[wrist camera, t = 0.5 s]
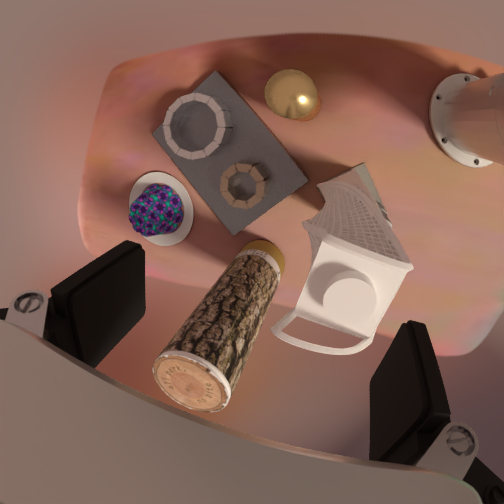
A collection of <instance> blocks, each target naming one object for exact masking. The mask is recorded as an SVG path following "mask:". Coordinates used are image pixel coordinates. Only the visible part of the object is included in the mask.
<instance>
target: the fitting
mask: <svg viewBox="0 0 504 504" xmlns="http://www.w3.org/2000/svg"><path fill="white" fill-rule="evenodd" d="M264 95H265V100H266V103H267V105H268V106H269V108H270V109H271V110H272V111H273V112H274V113H276V114H277V115H279V116H281V117H285V118H289V119H293V120H297V121H308V120H311V119H313V118H314V117H315V116H316V115H317V114H318V113H319V111H320V109H321V104H322V102H321V97H320V95H319V93H318V91H317V88H316V86H315V84H314V82H313V81H312V79H311V78H310V77H309V76H308V75H306V74H305V73H303V72H301V71H299V70H295V69H285V70H282V71H279V72H277V73H275V74H274V75H273V76H272V77H271V78H270V79H269V80H268V82H267V84H266V86H265V92H264Z"/></svg>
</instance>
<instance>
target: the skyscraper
mask: <svg viewBox="0 0 504 504" xmlns="http://www.w3.org/2000/svg"><path fill="white" fill-rule="evenodd" d="M317 187H318V189H319V191H320V193H321V195H322V197H323V199H324V201H325V205H324V207H323V208H322V209H321V211H320V212H319V213H318V214H317V215H315V216H314V217H313V218H312V219H308V220H306V221H304V222H302V224H303V227H304V229H306V230H307V231H308V234H309V237H310V242H311V249H312V260H311V267H310V272H309V275H308V278H307V281H306V283H305V286H304V288H303V291H302V293H301V295H300V298H299V300H298V303H297V305H296V306H295V308H293V309H292V310H291V311H290V312H288V313H287V314H286V315H285V316H284V317H283V318H282V319H281V320H279V321H278V322H277V323H276V324H275V325H274V326H273V327H271V328H270V330H271V331H272V333H273V334H274V335H275V336H276V337H278V338H279V339H282V340H283V341H285V342H287V343H290V344H292V345H295V346H298V347H301V348H304V349H308V350H311V351H315V352H320V353H325V354H334V355H348V354H353V353H357V352H360V351H361V350H363V349H365V348H366V347H367V346H369V345H370V344H371V343H372V341H373V338H374V334H375V331H376V328H377V326H378V324H379V322H380V321H381V319H382V317H383V316H384V314H385V312H386V310H387V309H388V307H389V305H390V303H391V302H392V300H393V298H394V296H395V294H396V292H397V291H398V289H399V287H400V285H401V283H402V281H403V279H404V277H405V275H406V274H407V272H408V271H411V270H413V269H414V268H413V265H412V263H411V261H410V259H409V258H408V256H407V254H406V252H405V250H404V249H403V247H402V245H401V243H400V242H399V240H398V239H397V237H396V235H395V234H394V232H393V230H392V223H391V222H390V220H389V219H388V217H387V212H386V210H385V208H384V206H383V203H382V201H381V199H380V196H379V194H378V192H377V189H376V187H375V185H374V183H373V180H372V178H371V176H370V174H369V172H368V169H367V167H366V165H365V163H363V164H361V165H358V166H356V167H354V168H352V169H350V170H348V171H345V172H343V173H341V174H339V175H337V176H335V177H332V178H330V179H328V180H326V181H324V182H322V183H319V184H317ZM296 316H299V317H302V318H304V319H307V320H310V321H313V322H316V323H318V324H322V325H324V326H327V327H330V328H333V329H336V330H339V331H342V332H345V333H347V334H351V335H353V336H357V337H360V338H363V339H364V340H363V341H361V342H360V343H359V344H357V345H355V346H353V347H351V348H344V349H338V348H330V347H324V346H320V345H316V344H311V343H308V342H305V341H301V340H299V339H296V338H294V337H291V336H289V335H287V334H285V333H283V332H281V330H282V329H283V328H285V327H286V326H287V325H288V324H289V323H290V322H291V321H292V320H293V319H294V318H295V317H296Z"/></svg>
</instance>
